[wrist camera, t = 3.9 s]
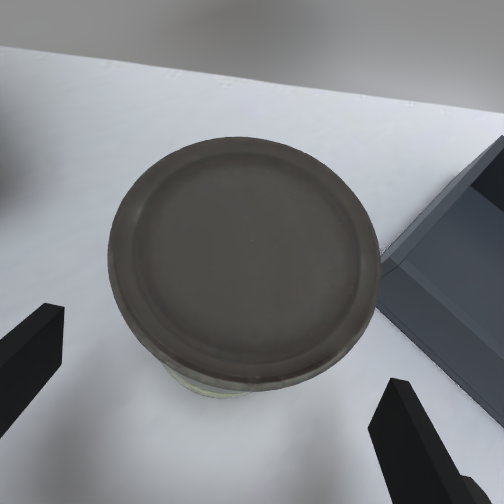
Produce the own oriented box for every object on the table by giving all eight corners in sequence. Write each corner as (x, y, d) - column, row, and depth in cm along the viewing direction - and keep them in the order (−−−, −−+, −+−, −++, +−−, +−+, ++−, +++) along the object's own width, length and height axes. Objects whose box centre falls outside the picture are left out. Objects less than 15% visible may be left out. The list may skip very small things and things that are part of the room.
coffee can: (130, 293, 26) (65, 182, 13) (253, 240, 29) (296, 108, 16) (189, 431, 23) (180, 459, 10) (319, 355, 26) (436, 304, 13)
